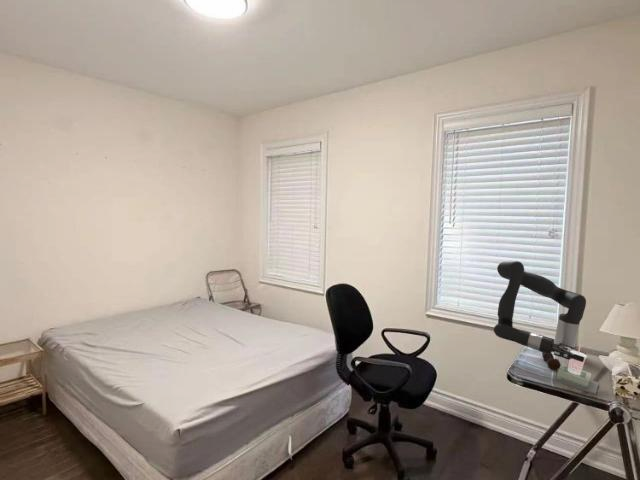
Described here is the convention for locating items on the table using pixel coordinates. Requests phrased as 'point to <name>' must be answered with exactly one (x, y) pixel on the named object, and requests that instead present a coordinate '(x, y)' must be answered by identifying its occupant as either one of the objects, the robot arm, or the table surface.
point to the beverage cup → (576, 363)
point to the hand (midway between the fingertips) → (584, 357)
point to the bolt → (551, 361)
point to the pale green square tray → (577, 379)
